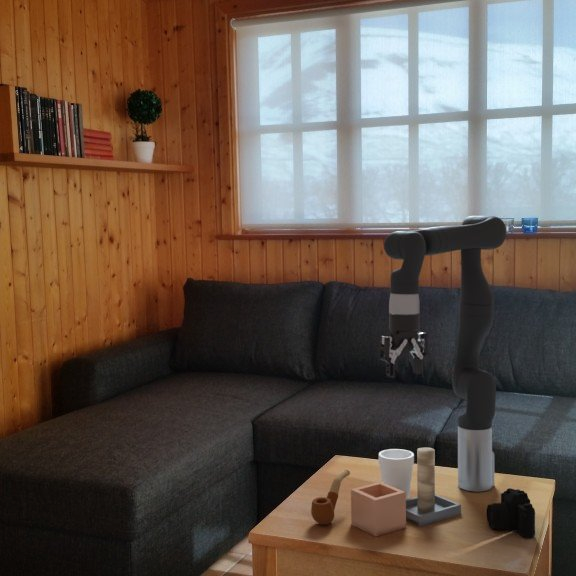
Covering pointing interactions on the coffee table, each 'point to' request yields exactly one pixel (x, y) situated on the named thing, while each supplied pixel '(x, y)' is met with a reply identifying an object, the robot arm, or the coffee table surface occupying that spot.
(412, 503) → the tray
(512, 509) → the film camera
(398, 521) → the deep box
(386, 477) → the foam cup
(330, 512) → the smoking pipe
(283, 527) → the coffee table surface
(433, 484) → the maple dowel
